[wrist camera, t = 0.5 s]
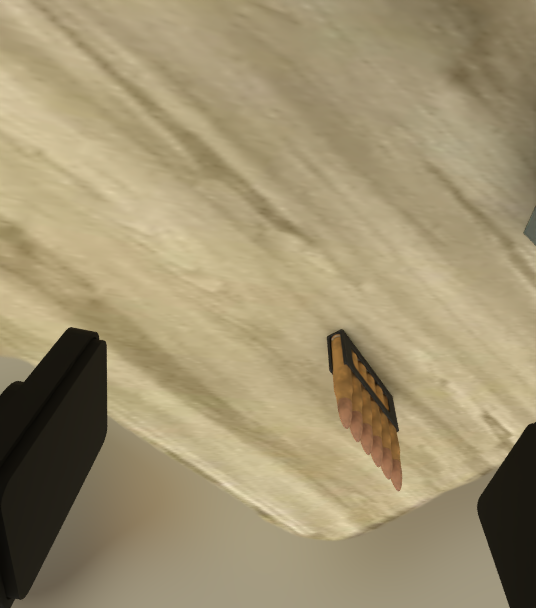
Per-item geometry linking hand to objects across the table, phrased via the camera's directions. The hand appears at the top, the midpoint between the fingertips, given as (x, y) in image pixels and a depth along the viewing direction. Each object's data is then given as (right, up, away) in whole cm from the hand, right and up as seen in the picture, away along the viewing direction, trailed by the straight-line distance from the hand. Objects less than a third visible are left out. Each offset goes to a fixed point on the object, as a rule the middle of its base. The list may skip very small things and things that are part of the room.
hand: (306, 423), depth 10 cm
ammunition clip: (+9, -4, +38) cm, 39 cm away
